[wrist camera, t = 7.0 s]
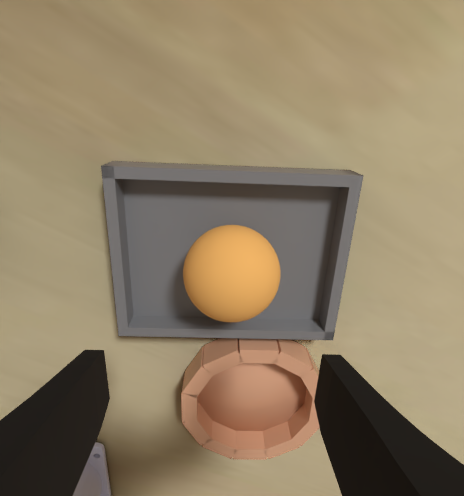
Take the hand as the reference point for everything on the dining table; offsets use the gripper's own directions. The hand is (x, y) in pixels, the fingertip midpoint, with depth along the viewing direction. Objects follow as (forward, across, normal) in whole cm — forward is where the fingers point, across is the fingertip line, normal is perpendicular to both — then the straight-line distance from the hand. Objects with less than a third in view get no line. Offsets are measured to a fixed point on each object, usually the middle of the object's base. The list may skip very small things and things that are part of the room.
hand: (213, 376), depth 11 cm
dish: (+10, -3, +10) cm, 14 cm away
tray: (+10, -1, -1) cm, 10 cm away
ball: (+7, -1, 0) cm, 7 cm away
